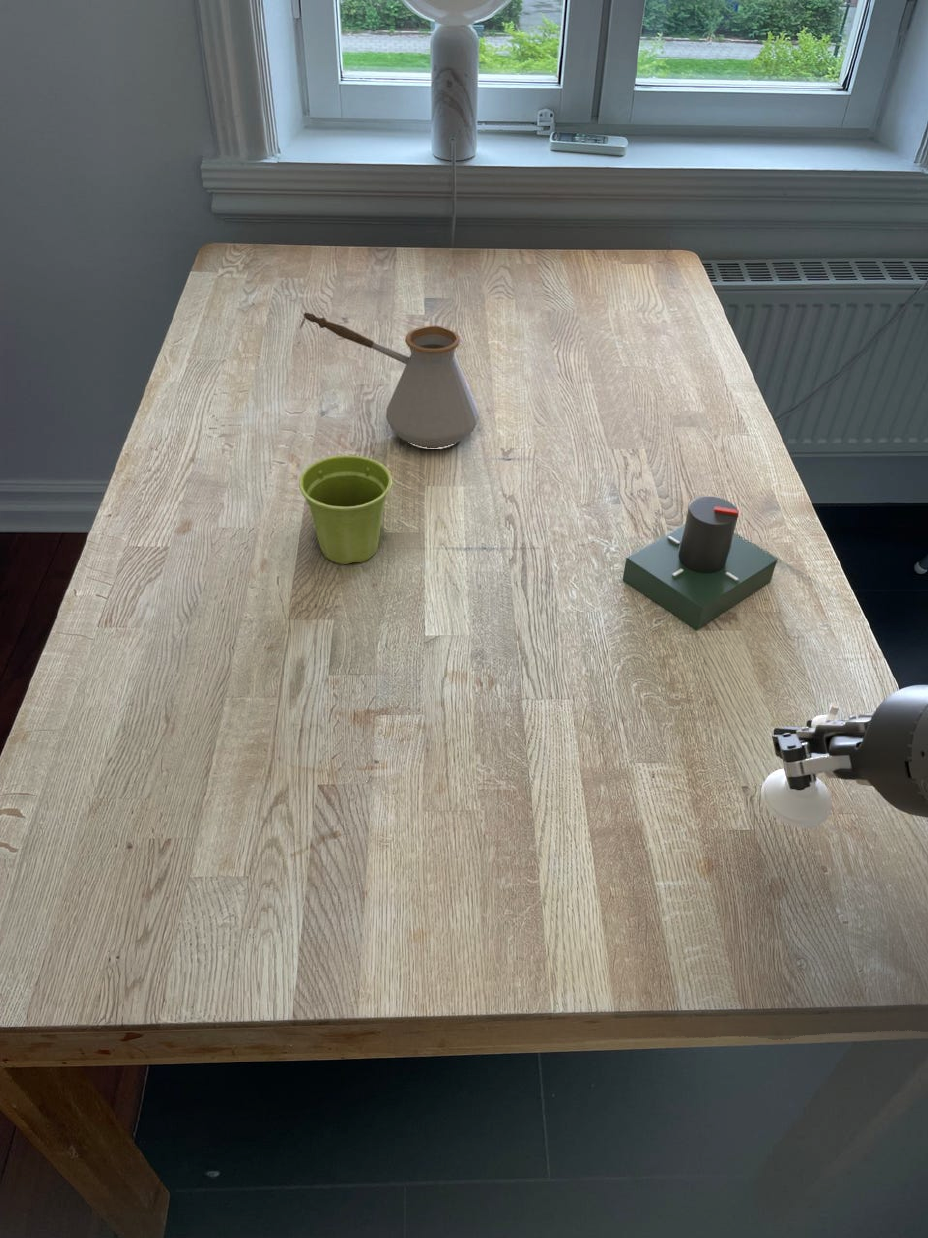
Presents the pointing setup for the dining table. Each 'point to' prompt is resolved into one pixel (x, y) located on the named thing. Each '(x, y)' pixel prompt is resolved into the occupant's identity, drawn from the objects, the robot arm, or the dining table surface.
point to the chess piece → (799, 793)
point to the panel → (697, 578)
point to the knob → (708, 534)
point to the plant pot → (346, 505)
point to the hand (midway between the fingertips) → (796, 738)
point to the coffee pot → (424, 386)
